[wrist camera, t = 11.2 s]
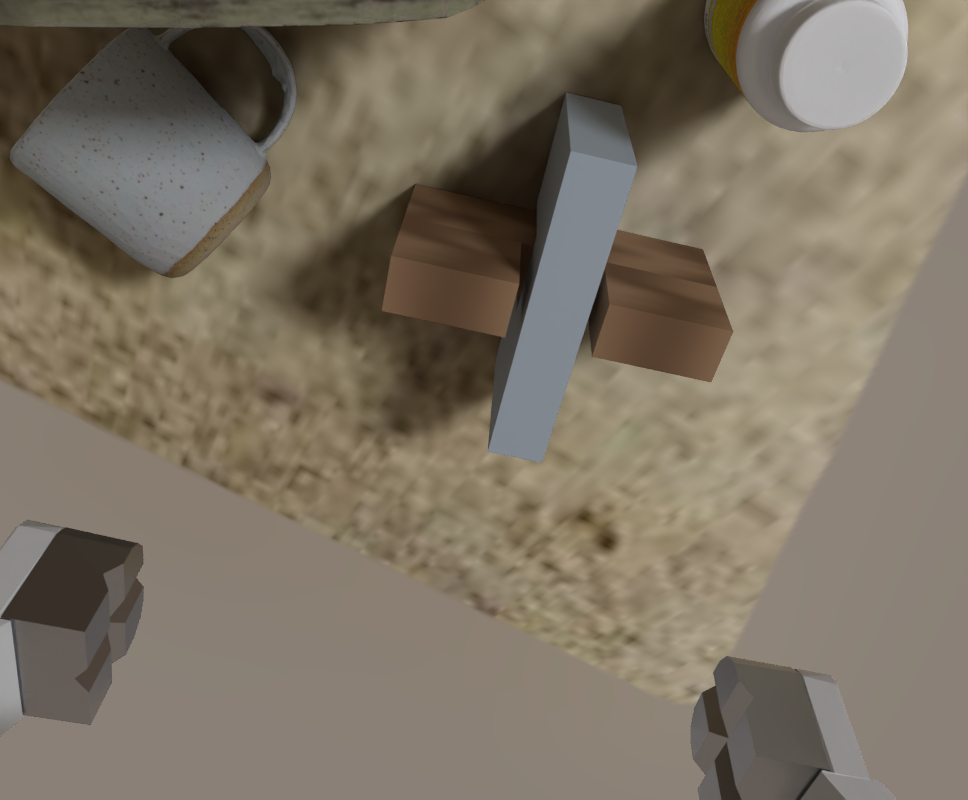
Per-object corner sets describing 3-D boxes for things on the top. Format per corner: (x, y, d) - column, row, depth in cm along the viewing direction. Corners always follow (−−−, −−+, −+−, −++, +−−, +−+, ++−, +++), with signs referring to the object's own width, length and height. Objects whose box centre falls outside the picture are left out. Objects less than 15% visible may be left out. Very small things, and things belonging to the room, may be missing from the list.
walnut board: (406, 232, 42) (381, 310, 36) (415, 183, 41) (391, 255, 34) (685, 295, 43) (711, 382, 37) (703, 249, 42) (733, 331, 35)
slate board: (565, 92, 38) (571, 151, 32) (621, 105, 39) (637, 166, 32) (495, 359, 46) (487, 451, 39) (541, 369, 46) (541, 462, 40)
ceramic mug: (202, 248, 43) (146, 321, 37) (60, 122, 40) (-28, 178, 34) (348, 102, 39) (313, 156, 33) (203, -51, 36) (133, -24, 30)
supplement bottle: (706, 89, 38) (754, 169, 29) (696, -52, 35) (746, -8, 27) (841, 63, 37) (930, 138, 29) (842, -84, 34) (943, -49, 26)
